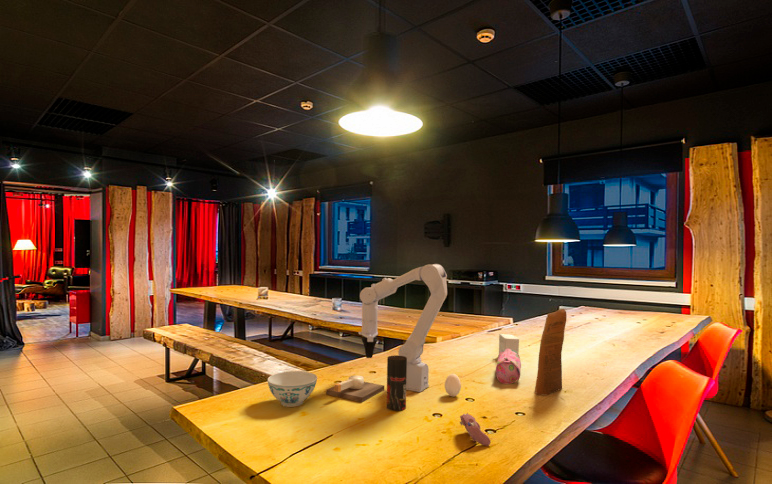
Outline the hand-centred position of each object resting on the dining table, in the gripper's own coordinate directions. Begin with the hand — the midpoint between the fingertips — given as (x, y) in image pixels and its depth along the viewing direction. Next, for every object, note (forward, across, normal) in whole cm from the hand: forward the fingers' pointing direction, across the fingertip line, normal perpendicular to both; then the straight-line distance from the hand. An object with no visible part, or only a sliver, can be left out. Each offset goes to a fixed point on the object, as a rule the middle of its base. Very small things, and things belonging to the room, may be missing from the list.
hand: (369, 357), depth 157 cm
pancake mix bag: (+9, +12, +63) cm, 65 cm away
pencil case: (+9, -4, +54) cm, 55 cm away
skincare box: (+9, -30, +64) cm, 71 cm away
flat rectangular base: (+8, +12, -5) cm, 16 cm away
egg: (+9, +17, +27) cm, 33 cm away
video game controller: (+9, +49, +25) cm, 56 cm away
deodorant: (+9, +27, +7) cm, 29 cm away
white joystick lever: (+7, +15, -7) cm, 18 cm away
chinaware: (+9, +22, -25) cm, 34 cm away
